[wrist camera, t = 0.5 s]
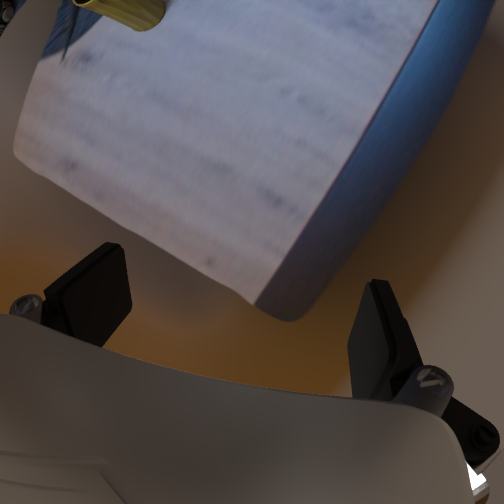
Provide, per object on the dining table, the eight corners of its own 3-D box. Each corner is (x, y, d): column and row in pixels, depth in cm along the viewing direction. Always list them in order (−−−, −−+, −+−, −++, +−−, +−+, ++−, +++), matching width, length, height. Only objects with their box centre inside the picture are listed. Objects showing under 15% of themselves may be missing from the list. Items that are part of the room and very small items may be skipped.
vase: (172, 14, 30) (118, -20, 17) (139, 39, 32) (77, 18, 19) (154, -9, 28) (101, -42, 16) (123, 16, 30) (63, -7, 18)
